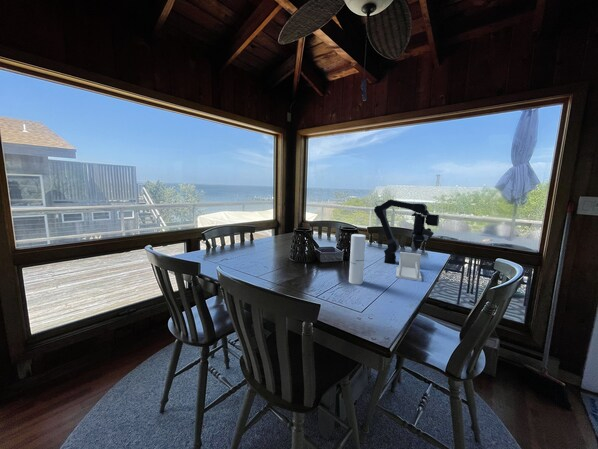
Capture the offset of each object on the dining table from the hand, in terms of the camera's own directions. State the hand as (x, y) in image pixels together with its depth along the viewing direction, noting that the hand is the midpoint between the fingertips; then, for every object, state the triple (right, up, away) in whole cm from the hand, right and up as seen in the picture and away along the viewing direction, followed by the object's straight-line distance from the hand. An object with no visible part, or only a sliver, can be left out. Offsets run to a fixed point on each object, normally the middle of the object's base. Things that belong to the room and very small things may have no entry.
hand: (415, 248), depth 159 cm
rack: (-10, -14, -12) cm, 20 cm away
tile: (-3, -12, +2) cm, 13 cm away
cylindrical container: (-43, -15, -25) cm, 52 cm away
